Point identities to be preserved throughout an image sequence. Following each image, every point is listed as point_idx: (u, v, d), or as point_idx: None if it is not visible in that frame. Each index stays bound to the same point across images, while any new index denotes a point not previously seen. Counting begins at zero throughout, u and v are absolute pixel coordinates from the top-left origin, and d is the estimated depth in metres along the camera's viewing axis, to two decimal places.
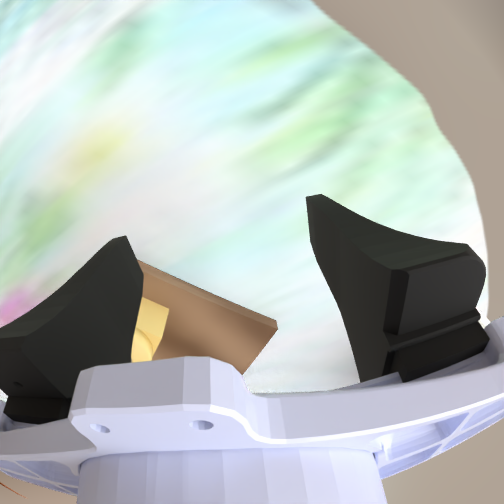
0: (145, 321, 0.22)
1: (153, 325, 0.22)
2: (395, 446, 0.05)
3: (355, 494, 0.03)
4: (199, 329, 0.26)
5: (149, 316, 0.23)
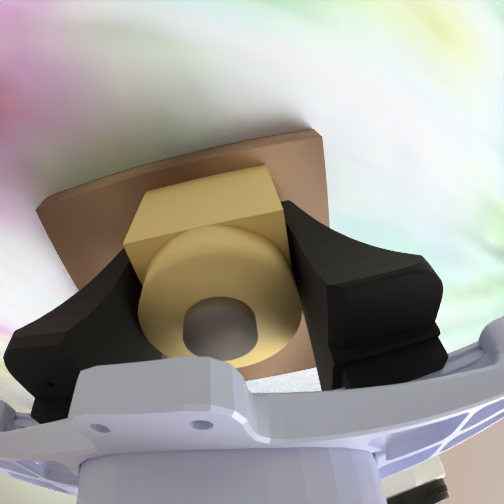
0: None
1: None
2: (395, 446, 0.05)
3: (355, 493, 0.03)
4: None
5: None
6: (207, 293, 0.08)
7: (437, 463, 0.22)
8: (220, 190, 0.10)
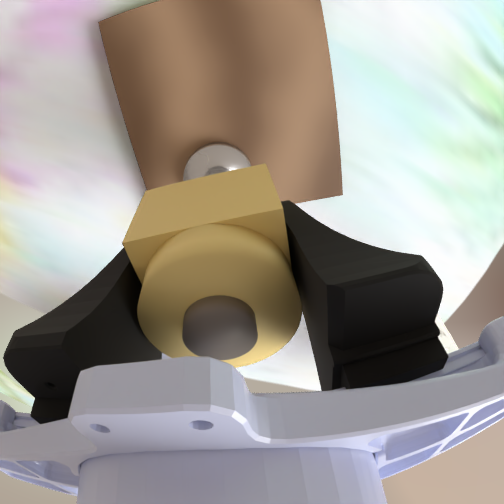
0: None
1: None
2: (395, 446, 0.05)
3: (355, 493, 0.03)
4: (287, 115, 0.17)
5: None
6: (206, 292, 0.08)
7: None
8: (220, 189, 0.10)
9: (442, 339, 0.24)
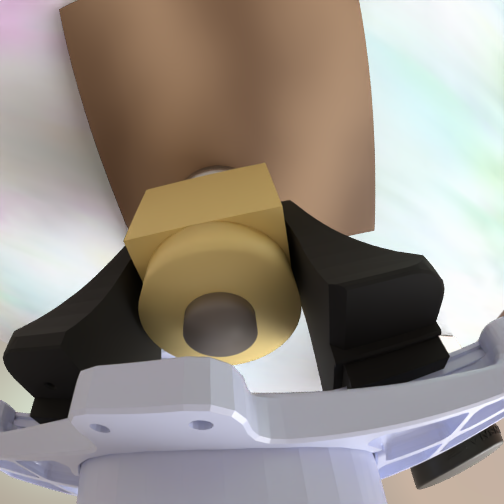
0: None
1: None
2: (395, 446, 0.05)
3: (355, 494, 0.03)
4: (310, 130, 0.13)
5: None
6: (207, 288, 0.08)
7: None
8: (220, 188, 0.10)
9: None
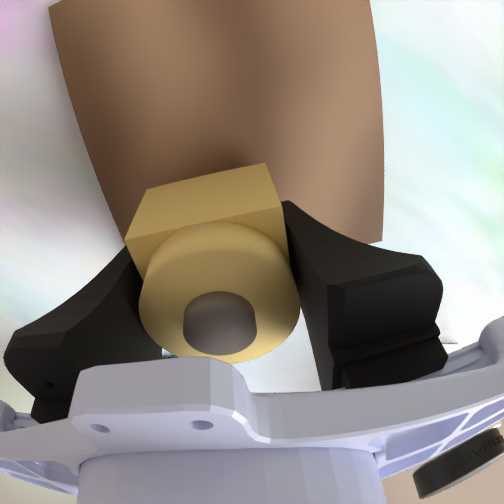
0: None
1: None
2: (395, 446, 0.05)
3: (355, 493, 0.03)
4: (316, 136, 0.12)
5: None
6: (207, 288, 0.08)
7: None
8: (220, 188, 0.10)
9: None
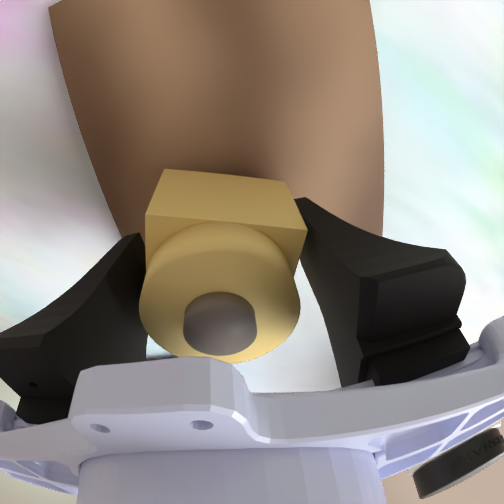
0: (254, 208, 0.10)
1: (275, 211, 0.10)
2: (395, 446, 0.05)
3: (355, 493, 0.03)
4: (316, 136, 0.12)
5: (257, 198, 0.10)
6: (178, 315, 0.09)
7: None
8: None
9: None
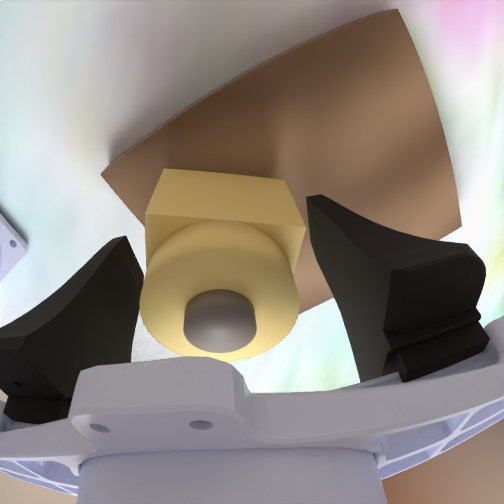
0: (253, 206, 0.10)
1: (273, 209, 0.10)
2: (395, 446, 0.05)
3: (355, 494, 0.03)
4: None
5: (255, 197, 0.11)
6: (179, 313, 0.09)
7: None
8: None
9: None
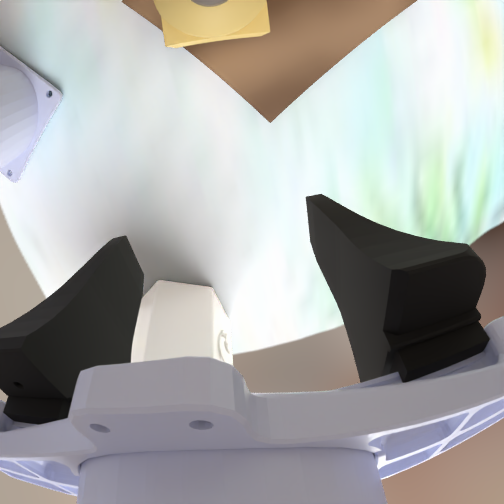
0: None
1: None
2: (395, 446, 0.05)
3: (355, 493, 0.03)
4: (304, 27, 0.15)
5: None
6: None
7: None
8: None
9: (226, 354, 0.24)
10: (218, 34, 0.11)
